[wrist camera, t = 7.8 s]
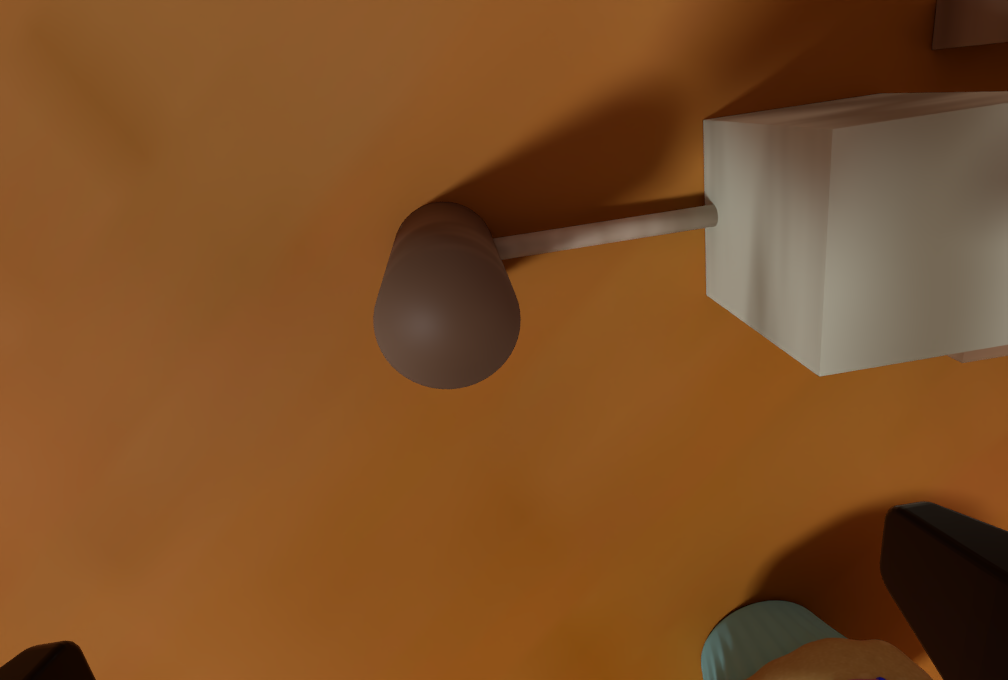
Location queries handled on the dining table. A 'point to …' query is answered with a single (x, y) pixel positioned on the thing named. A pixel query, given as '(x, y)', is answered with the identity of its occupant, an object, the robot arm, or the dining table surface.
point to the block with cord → (765, 241)
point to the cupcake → (797, 649)
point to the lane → (967, 22)
